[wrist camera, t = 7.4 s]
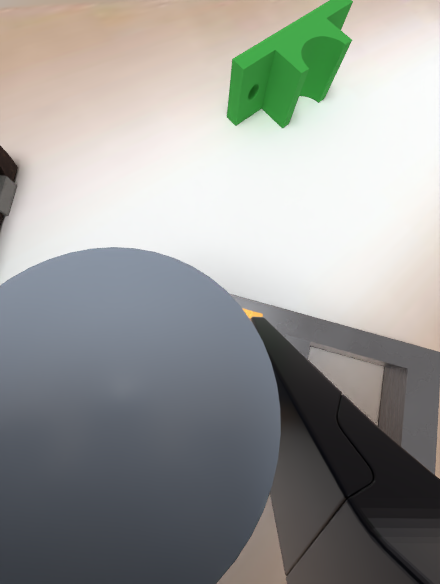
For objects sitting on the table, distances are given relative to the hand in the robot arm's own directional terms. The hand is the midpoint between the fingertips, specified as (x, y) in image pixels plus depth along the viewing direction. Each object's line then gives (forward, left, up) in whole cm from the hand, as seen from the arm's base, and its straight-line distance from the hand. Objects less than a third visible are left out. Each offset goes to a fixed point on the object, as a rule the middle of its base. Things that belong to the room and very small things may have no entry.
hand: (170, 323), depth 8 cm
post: (-1, +1, -9) cm, 9 cm away
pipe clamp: (+9, -20, -9) cm, 24 cm away
